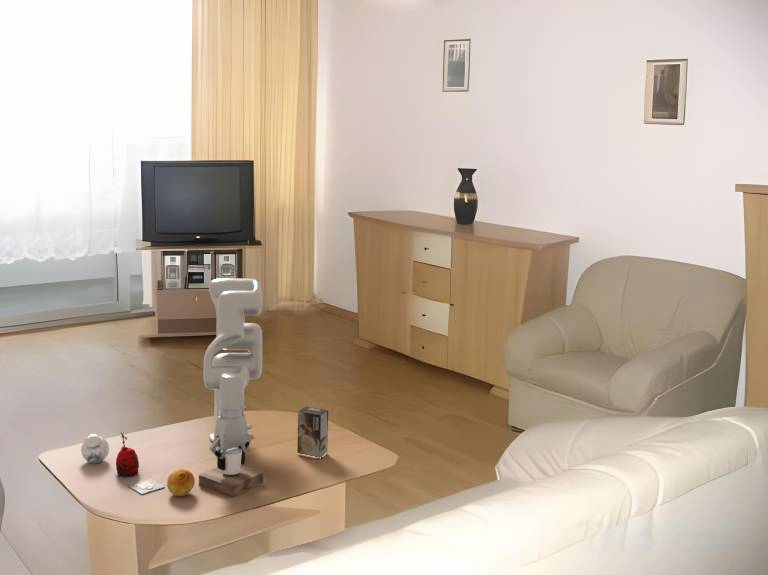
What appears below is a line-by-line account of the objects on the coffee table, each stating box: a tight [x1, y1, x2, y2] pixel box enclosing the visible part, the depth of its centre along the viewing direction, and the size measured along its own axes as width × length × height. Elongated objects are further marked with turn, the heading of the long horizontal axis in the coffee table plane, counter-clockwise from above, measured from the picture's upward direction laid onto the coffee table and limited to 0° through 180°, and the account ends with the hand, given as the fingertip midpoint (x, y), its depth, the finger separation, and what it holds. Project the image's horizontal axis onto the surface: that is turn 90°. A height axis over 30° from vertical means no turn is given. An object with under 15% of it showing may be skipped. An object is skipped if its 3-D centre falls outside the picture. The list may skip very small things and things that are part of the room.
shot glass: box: [221, 447, 242, 475], centre depth 277 cm, size 7×7×7 cm
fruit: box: [166, 468, 196, 497], centre depth 269 cm, size 8×8×8 cm
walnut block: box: [198, 465, 264, 498], centre depth 278 cm, size 14×14×4 cm
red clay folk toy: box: [115, 432, 140, 477], centre depth 281 cm, size 8×7×15 cm
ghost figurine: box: [80, 433, 110, 464], centre depth 290 cm, size 9×10×10 cm
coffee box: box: [296, 406, 329, 458], centre depth 304 cm, size 9×6×16 cm
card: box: [127, 478, 165, 496], centre depth 273 cm, size 8×8×1 cm
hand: (231, 465), depth 277 cm, fingers closed on shot glass, 6 cm apart
